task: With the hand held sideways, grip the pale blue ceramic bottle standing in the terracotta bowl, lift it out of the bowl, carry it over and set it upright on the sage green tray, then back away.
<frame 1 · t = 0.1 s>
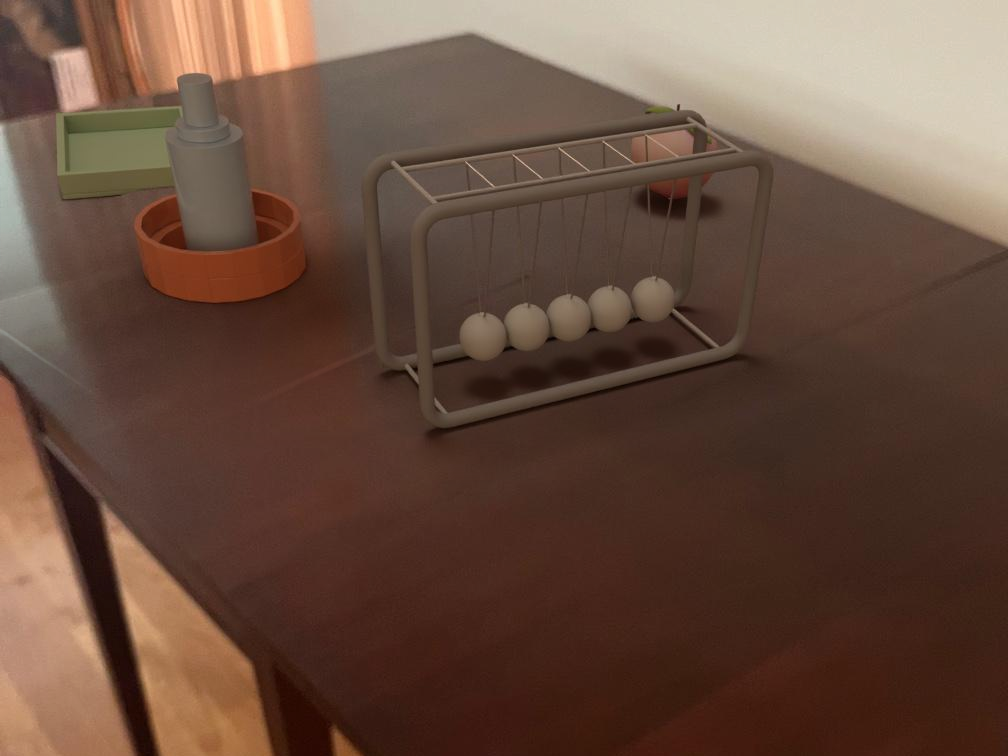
bottle: (226, 265, 107), resting on bowl
decorative fruit: (667, 203, 124), on the table
tray: (130, 161, 125), on the table
bowl: (227, 271, 107), on the table
newton's cradle: (566, 365, 98), on the table
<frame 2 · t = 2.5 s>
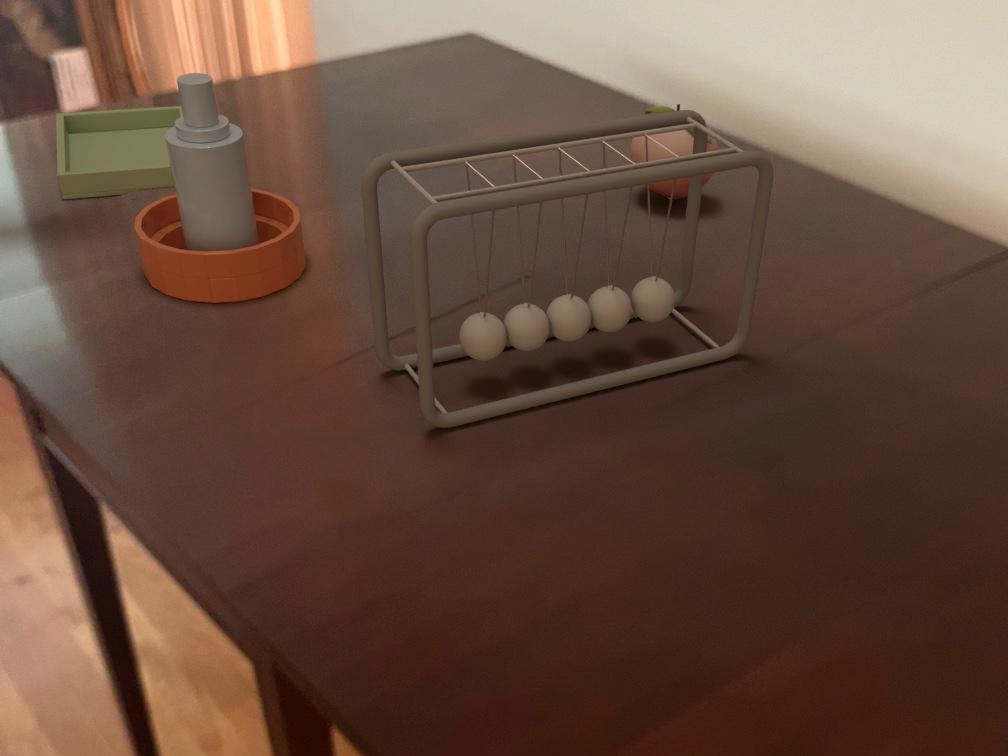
nothing on the table moved.
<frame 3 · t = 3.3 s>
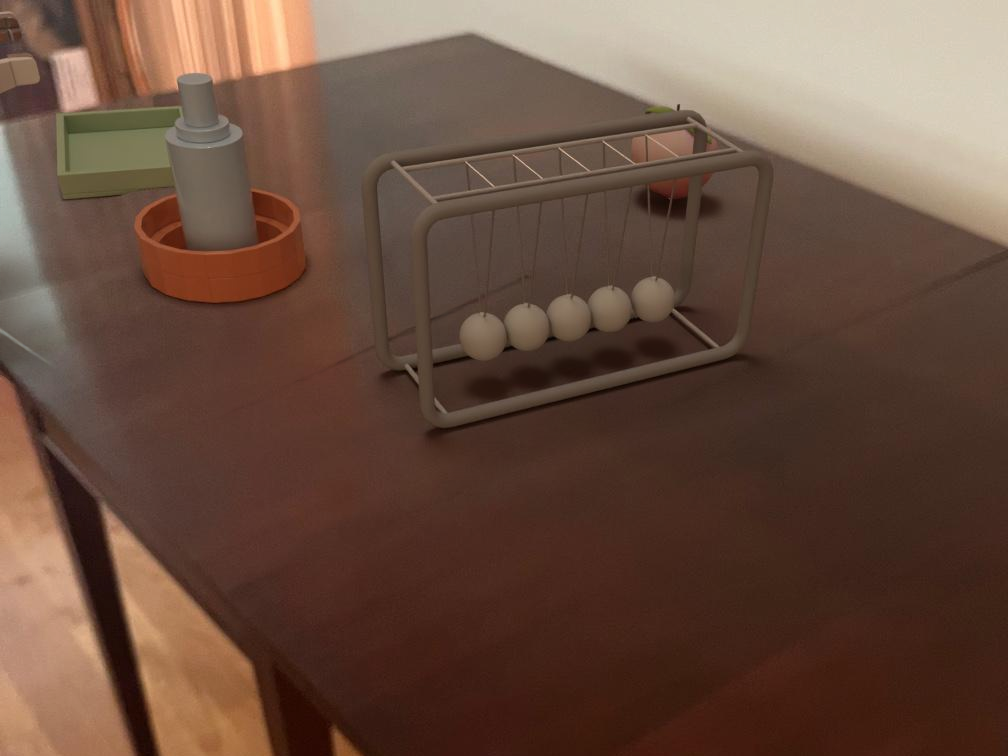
hand: (27, 45, 90), 20 cm above the table, tool horizontal, fingers open, 8 cm apart
nothing on the table moved.
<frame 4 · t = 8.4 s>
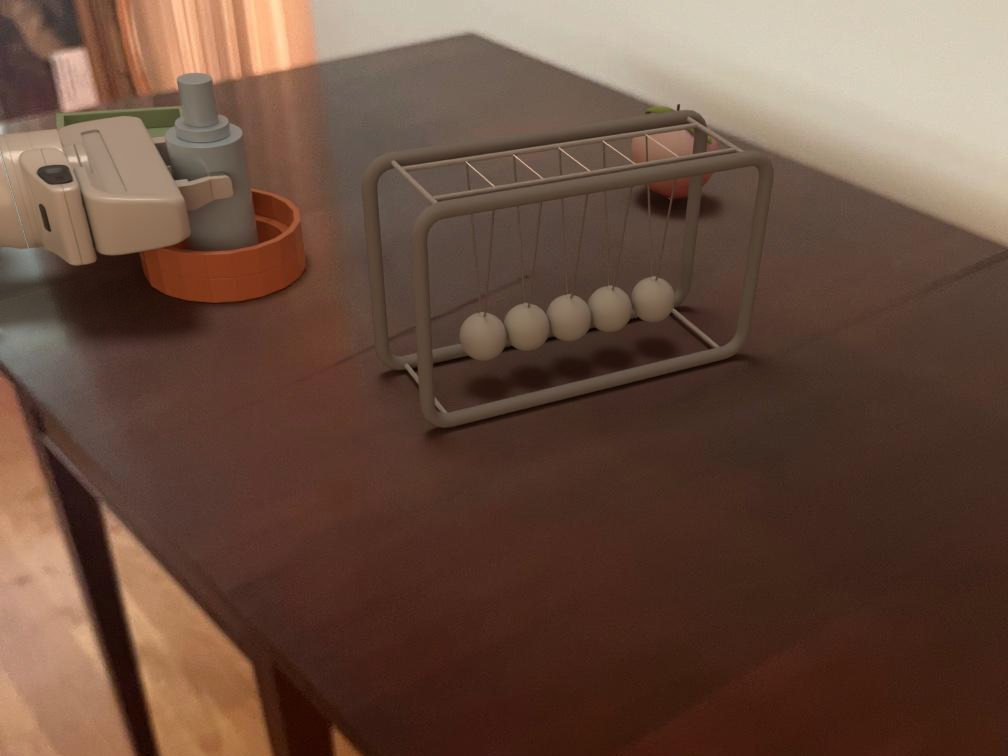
hand: (220, 167, 101), 10 cm above the table, tool horizontal, fingers closed on bottle, 6 cm apart
bottle: (226, 265, 107), point 1 cm above the table, touching bowl, gripper
everything else where it was.
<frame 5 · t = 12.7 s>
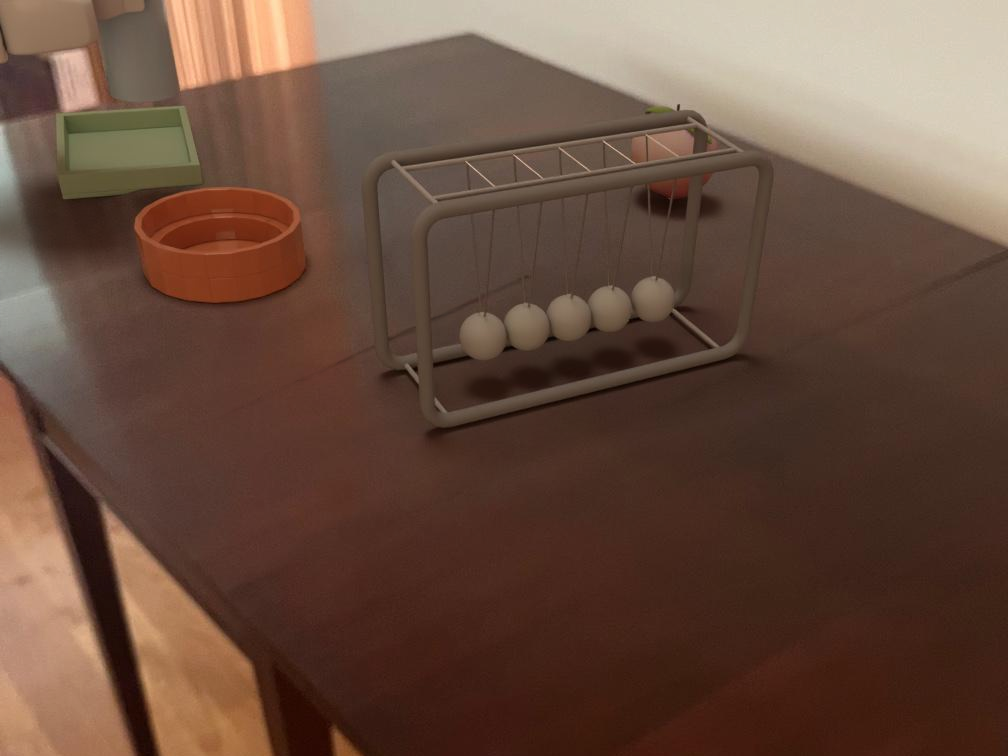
bottle: (144, 91, 110), point 11 cm above the table, touching gripper
everything else where it was.
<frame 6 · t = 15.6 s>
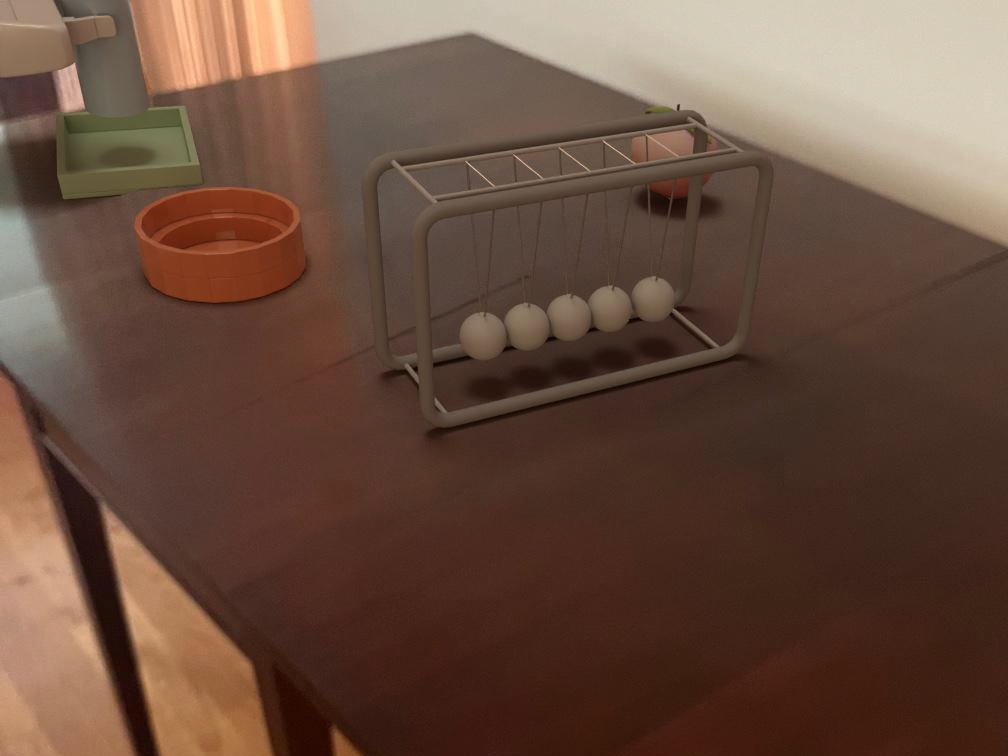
hand: (107, 12, 115), 15 cm above the table, tool horizontal, fingers closed on bottle, 6 cm apart
bottle: (118, 106, 121), point 6 cm above the table, touching gripper
everything else where it was.
when the fingers open (10 cm above the table, at t = 17.6 s): bottle stays where it is, resting on tray.
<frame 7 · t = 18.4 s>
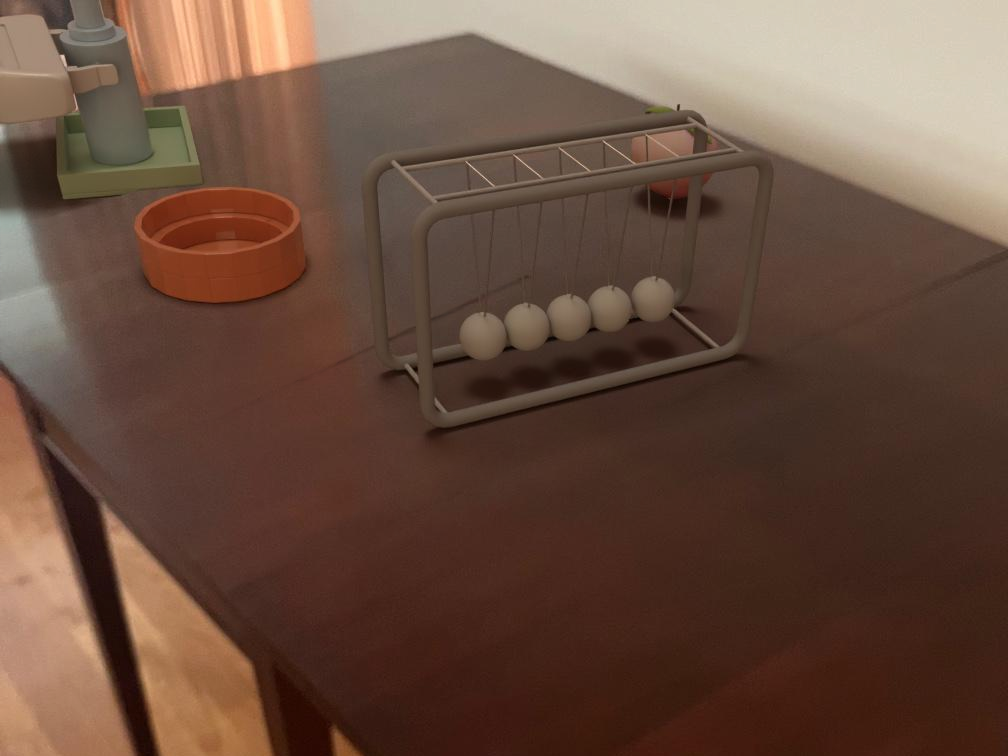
hand: (108, 56, 118), 11 cm above the table, tool horizontal, fingers open, 8 cm apart
bottle: (122, 152, 125), point 1 cm above the table, touching tray
everything else where it was.
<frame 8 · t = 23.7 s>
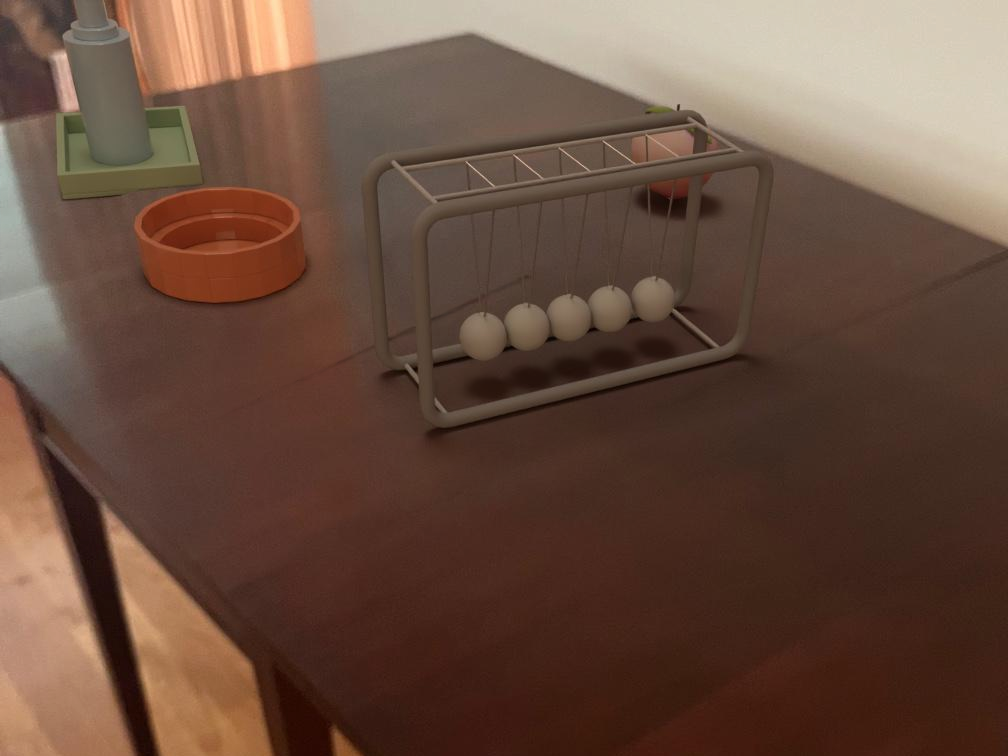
nothing on the table moved.
at the end: bottle inside the target area in the tray (1.1 cm from its centre), point 0.5 cm above the tray's base; bottle tilted 0°; the gripper is holding nothing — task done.
